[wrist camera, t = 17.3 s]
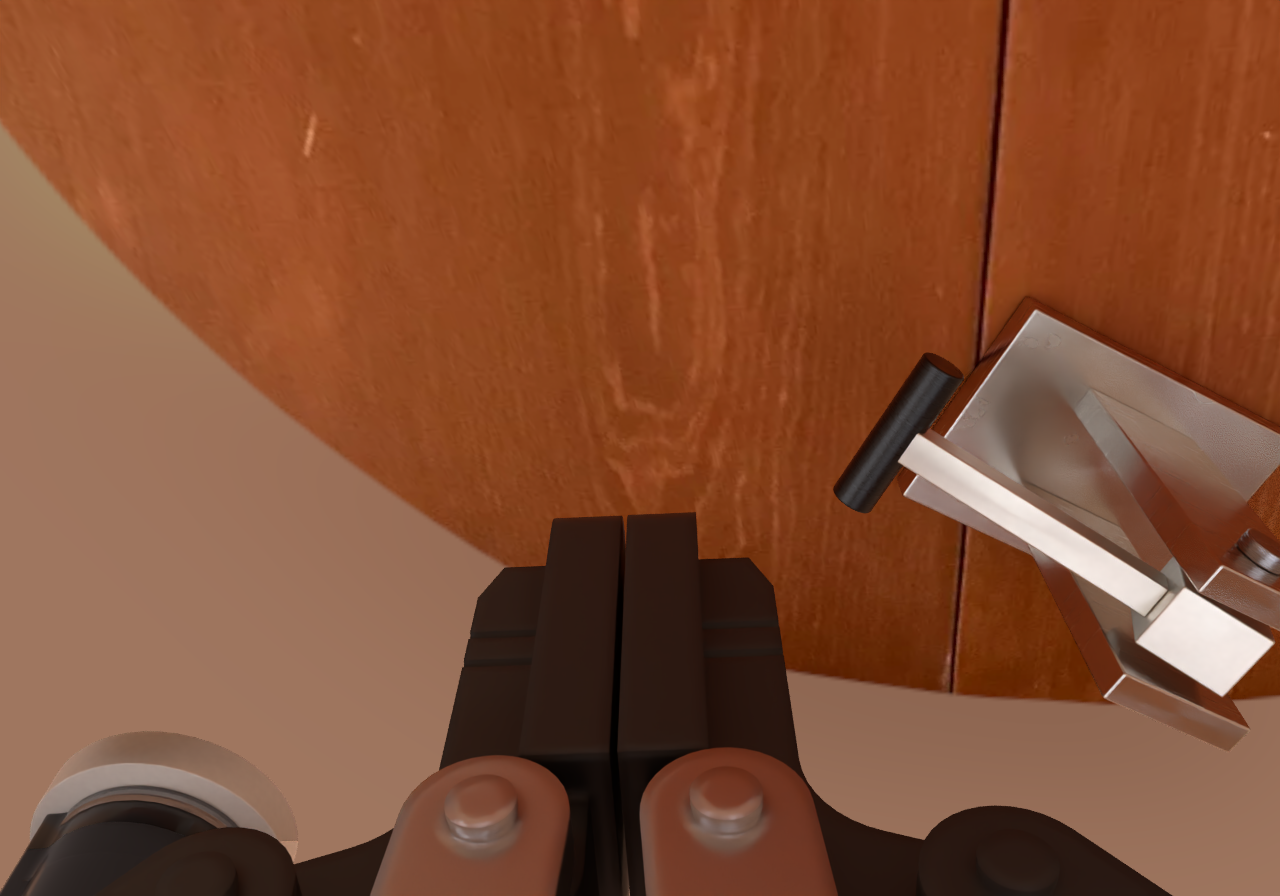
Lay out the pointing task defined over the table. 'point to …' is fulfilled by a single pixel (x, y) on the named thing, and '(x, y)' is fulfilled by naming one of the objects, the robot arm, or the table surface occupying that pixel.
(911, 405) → the lever
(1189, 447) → the bracket
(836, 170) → the table surface
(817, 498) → the table surface
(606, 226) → the table surface
